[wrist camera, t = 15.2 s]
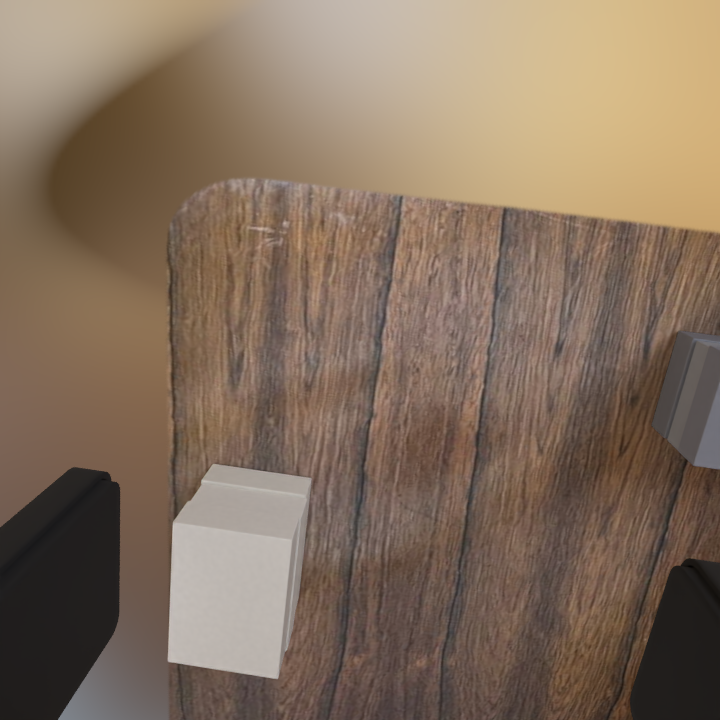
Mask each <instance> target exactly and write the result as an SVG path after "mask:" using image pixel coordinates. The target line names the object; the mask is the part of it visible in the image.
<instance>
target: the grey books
mask: <svg viewBox="0 0 720 720" xmlns="http://www.w3.org/2000/svg"><path fill="white" fill-rule="evenodd" d="M652 427H653V428H654V429H655V430H656V431H657V432H658V433H659V434H660V435H661V436H662V437H663V438H667V439H668V442H669V443H671V444H672V445H673V446H674V447H675V448H676V449H677V450H678V452H679V453H680V454H682V455H683V456H684V457H685V458H686V459H687V460H688V461H689V462H690V463H691V464H692V465H693V466H698V467H705V468H712V469H719V470H720V336H716V335H708V334H701V333H694V332H686V331H678V334H677V338H676V341H675V345H674V348H673V352H672V355H671V359H670V362H669V366H668V369H667V373H666V376H665V380H664V383H663V387H662V390H661V394H660V397H659V401H658V404H657V408H656V411H655V415H654V418H653V422H652Z"/></svg>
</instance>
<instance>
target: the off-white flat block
mask: <svg viewBox="0 0 720 720" xmlns="http://www.w3.org/2000/svg"><path fill="white" fill-rule="evenodd" d="M298 528H299V517H293V516H286V515H279V514H273V513H266V512H259V511H253V510H246V509H239V508H232V507H226V506H219V505H212V504H206V503H199V502H192V501H187V503H186V504H185V506H184V507H183V509H182V510H181V511H180V513H179V514H178V516H177V517H176V519H175V520H174V522H173V531H172V559H171V586H170V613H169V640H168V662H173V663H179V664H186V665H192V666H198V667H204V668H211V669H217V670H223V671H230V672H236V673H242V674H249V675H255V676H261V677H267V678H274V679H278V677H279V673H280V669H281V665H282V661H283V657H284V654H285V650H286V640H287V631H288V622H289V612H290V603H291V594H292V584H293V575H294V565H295V556H296V547H297V537H298Z"/></svg>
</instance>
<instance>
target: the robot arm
mask: <svg viewBox="0 0 720 720" xmlns="http://www.w3.org/2000/svg"><path fill="white" fill-rule="evenodd" d="M119 566H120V487H119V484H118V483H117V482H112V481H111V477H110V474H109V473H108V472H104V471H97V470H90V469H83V468H76V467H75V468H71V469H69V470H68V471H67V472H66V473H64V474H63V475H62V476H61V477H60V478H59V479H57V480H56V481H55V482H54V483H53V484H51V485H50V486H49V487H48V488H47V489H45V490H44V491H43V492H42V493H41V494H40V495H38V496H37V497H36V498H35V499H34V500H33V501H31V502H30V503H29V504H28V505H26V506H25V507H24V508H23V509H22V510H21V511H19V512H18V513H17V514H16V515H15V516H13V517H12V518H11V519H10V520H9V521H7V522H6V523H5V524H4V525H3V526H2V527H0V720H58V718H59V717H60V715H61V714H62V712H63V711H64V709H65V708H66V706H67V705H68V703H69V701H70V700H71V698H72V697H73V695H74V694H75V692H76V691H77V689H78V688H79V686H80V684H81V683H82V681H83V680H84V678H85V677H86V675H87V674H88V672H89V671H90V669H91V668H92V666H93V665H94V663H95V662H96V660H97V658H98V657H99V655H100V654H101V652H102V651H103V649H104V648H105V646H106V645H107V643H108V642H109V640H110V638H111V637H112V635H113V633H114V631H115V628H116V625H117V622H118V617H119V571H120V567H119ZM630 706H631V713H632V717H633V720H720V563H717V562H711V561H704V560H697V559H690V558H689V559H686V560H685V561H684V562H683V563H682V564H681V566H674V567H673V568H672V569H671V572H670V574H669V577H668V580H667V583H666V586H665V589H664V592H663V595H662V599H661V602H660V605H659V608H658V611H657V614H656V617H655V620H654V623H653V627H652V630H651V633H650V636H649V639H648V642H647V645H646V648H645V651H644V654H643V658H642V661H641V664H640V667H639V670H638V673H637V676H636V679H635V682H634V686H633V689H632V692H631V698H630Z"/></svg>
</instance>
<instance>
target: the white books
mask: <svg viewBox="0 0 720 720" xmlns="http://www.w3.org/2000/svg"><path fill="white" fill-rule="evenodd" d="M311 482H312V479H311V478H307V477H300V476H293V475H287V474H280V473H273V472H266V471H259V470H252V469H246V468H239V467H232V466H225V465H218V464H212V466H211V467H210V469H209V470H208V472H207V473H206V475H205V476H204V477H203V479H202V480H201V486H200V488H199V489H198V491H197V492H196V494H195V495H194V497H193V498H192V499H191V501H192V502H199V503H206V504H212V505H219V506H226V507H232V508H239V509H246V510H253V511H259V512H266V513H273V514H279V515H286V516H293V517H299V528H298V537H297V547H296V556H295V565H294V575H293V584H292V594H291V603H290V612H289V622H288V631H287V640H286V650H285V651H287V649H288V645H289V641H290V637H291V633H292V629H293V625H294V617H295V610H296V606H297V602H298V598H299V590H300V581H301V572H302V563H303V554H304V545H305V536H306V527H307V518H308V509H309V500H310V491H311Z"/></svg>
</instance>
